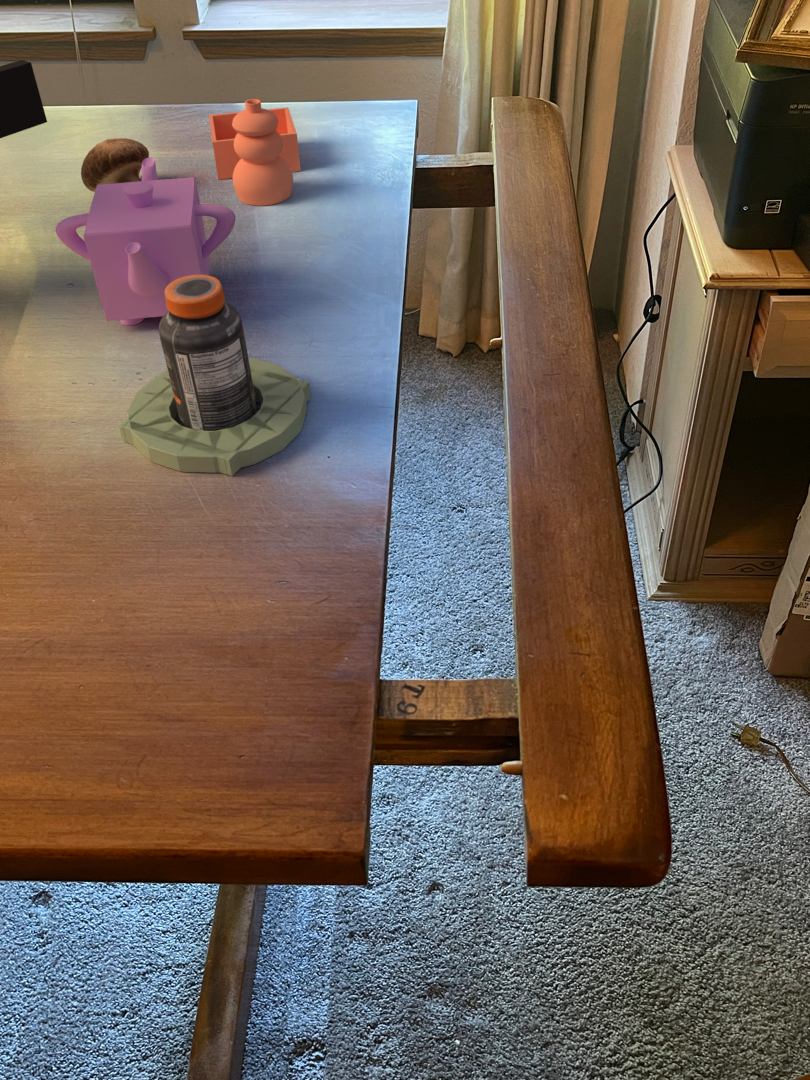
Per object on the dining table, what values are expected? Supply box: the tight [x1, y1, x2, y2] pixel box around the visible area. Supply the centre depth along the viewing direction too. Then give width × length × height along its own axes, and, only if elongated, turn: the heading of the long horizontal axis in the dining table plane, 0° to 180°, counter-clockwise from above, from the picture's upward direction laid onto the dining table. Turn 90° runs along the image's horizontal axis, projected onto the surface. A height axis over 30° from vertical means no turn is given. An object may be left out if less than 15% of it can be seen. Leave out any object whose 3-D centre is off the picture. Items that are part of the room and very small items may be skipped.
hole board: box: [118, 356, 312, 477], centre depth 73 cm, size 13×13×2 cm
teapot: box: [55, 157, 236, 326], centre depth 84 cm, size 15×13×11 cm
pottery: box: [208, 98, 301, 207], centre depth 106 cm, size 18×10×10 cm, turn 11°
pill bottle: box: [158, 275, 258, 431], centre depth 70 cm, size 6×6×11 cm
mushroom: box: [80, 137, 150, 193], centre depth 105 cm, size 8×8×6 cm
